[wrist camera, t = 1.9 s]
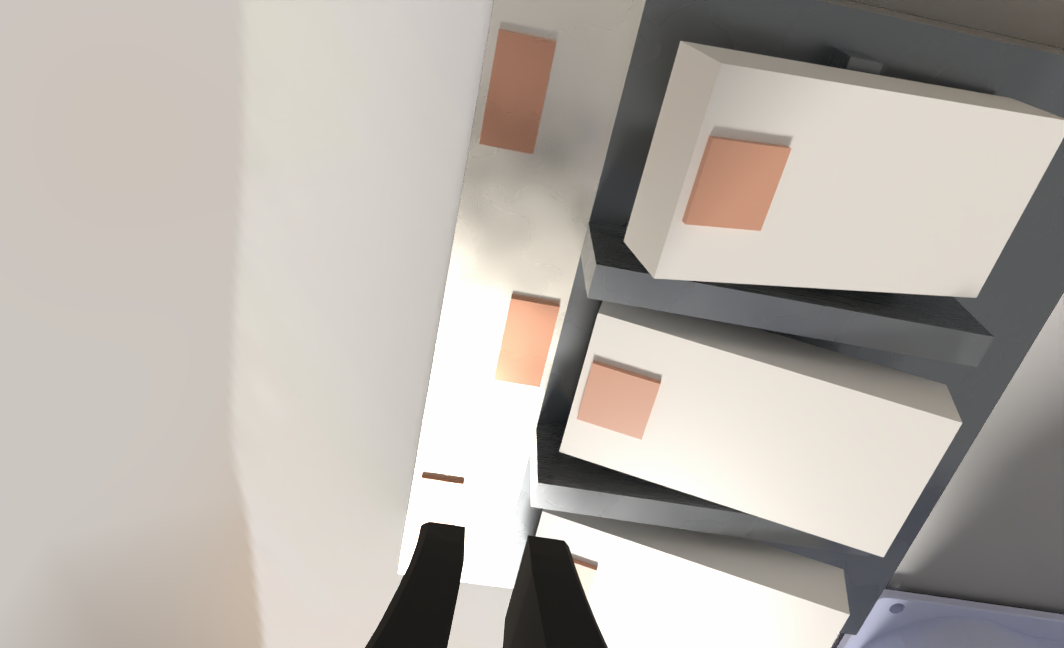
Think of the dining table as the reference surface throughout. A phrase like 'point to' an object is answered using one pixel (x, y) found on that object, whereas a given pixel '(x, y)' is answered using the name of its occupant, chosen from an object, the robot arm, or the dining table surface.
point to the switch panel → (618, 276)
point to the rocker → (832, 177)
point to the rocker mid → (759, 423)
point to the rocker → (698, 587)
